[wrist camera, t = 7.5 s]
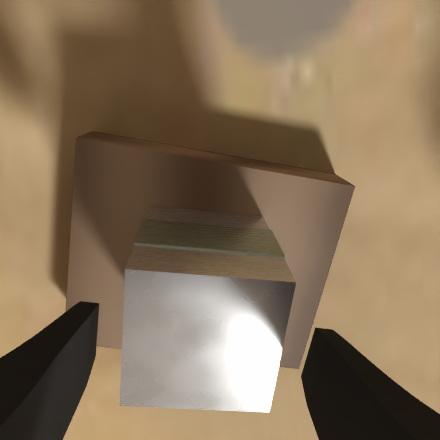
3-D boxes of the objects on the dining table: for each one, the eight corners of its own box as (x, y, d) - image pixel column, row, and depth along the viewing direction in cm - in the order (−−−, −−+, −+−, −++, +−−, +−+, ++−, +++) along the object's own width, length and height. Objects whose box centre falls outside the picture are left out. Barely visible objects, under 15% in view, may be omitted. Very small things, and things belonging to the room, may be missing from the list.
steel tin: (264, 215, 17) (298, 281, 11) (248, 313, 18) (270, 413, 13) (148, 204, 16) (123, 267, 11) (142, 306, 18) (118, 407, 12)
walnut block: (331, 172, 19) (354, 186, 17) (286, 333, 23) (298, 369, 20) (95, 130, 18) (76, 138, 15) (81, 308, 21) (63, 342, 18)
